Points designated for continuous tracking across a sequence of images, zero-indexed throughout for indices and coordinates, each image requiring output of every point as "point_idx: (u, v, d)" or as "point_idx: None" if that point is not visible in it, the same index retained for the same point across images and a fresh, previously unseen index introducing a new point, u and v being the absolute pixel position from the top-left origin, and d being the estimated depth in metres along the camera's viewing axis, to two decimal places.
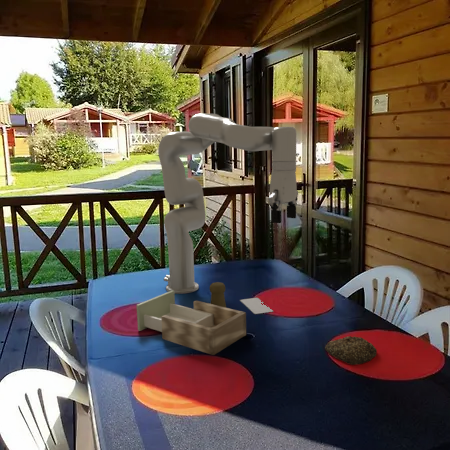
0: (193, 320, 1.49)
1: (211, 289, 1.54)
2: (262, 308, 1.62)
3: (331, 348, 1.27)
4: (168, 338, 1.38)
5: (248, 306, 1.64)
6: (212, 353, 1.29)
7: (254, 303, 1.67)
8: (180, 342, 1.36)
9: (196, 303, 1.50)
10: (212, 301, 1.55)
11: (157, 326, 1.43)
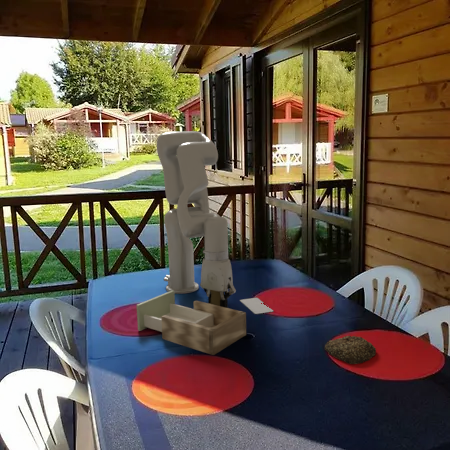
0: (193, 320, 1.49)
1: None
2: (262, 308, 1.62)
3: (330, 347, 1.28)
4: (168, 338, 1.38)
5: (248, 306, 1.64)
6: (212, 353, 1.29)
7: (254, 303, 1.67)
8: (180, 342, 1.36)
9: (196, 303, 1.50)
10: (212, 301, 1.55)
11: (157, 326, 1.43)
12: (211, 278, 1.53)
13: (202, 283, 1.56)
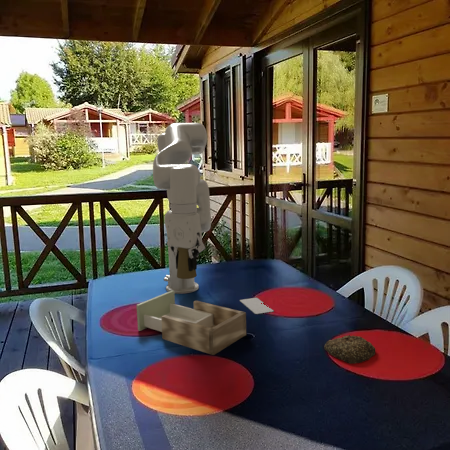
0: (193, 320, 1.49)
1: None
2: (262, 308, 1.62)
3: (330, 347, 1.28)
4: (168, 338, 1.38)
5: (248, 306, 1.64)
6: (212, 353, 1.29)
7: (254, 303, 1.67)
8: (180, 342, 1.36)
9: (196, 303, 1.50)
10: (179, 260, 1.40)
11: (157, 326, 1.43)
12: (178, 233, 1.38)
13: (168, 240, 1.41)
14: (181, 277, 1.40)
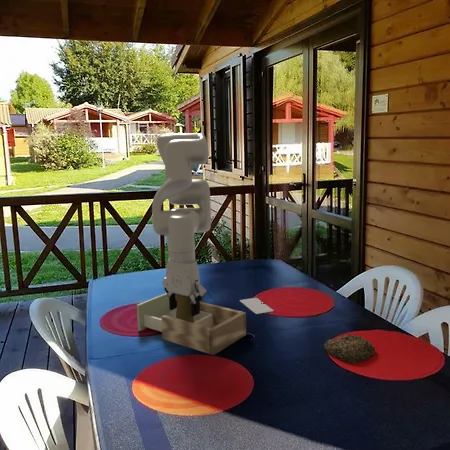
0: None
1: (177, 297, 1.42)
2: (262, 308, 1.62)
3: (329, 346, 1.28)
4: (168, 338, 1.38)
5: (248, 306, 1.64)
6: (212, 353, 1.29)
7: (254, 303, 1.67)
8: (180, 342, 1.36)
9: None
10: (178, 310, 1.43)
11: (157, 326, 1.43)
12: (176, 281, 1.40)
13: (167, 286, 1.43)
14: None
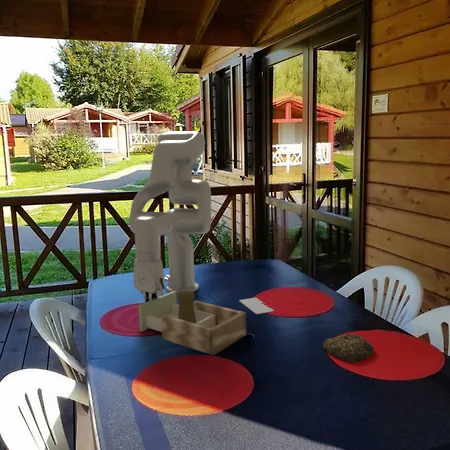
0: None
1: (179, 298, 1.41)
2: (262, 308, 1.62)
3: (328, 345, 1.29)
4: (168, 338, 1.38)
5: (248, 306, 1.64)
6: (212, 353, 1.29)
7: (254, 303, 1.67)
8: (180, 342, 1.36)
9: (196, 303, 1.50)
10: (180, 311, 1.42)
11: (159, 327, 1.43)
12: (142, 278, 1.49)
13: (134, 284, 1.51)
14: None
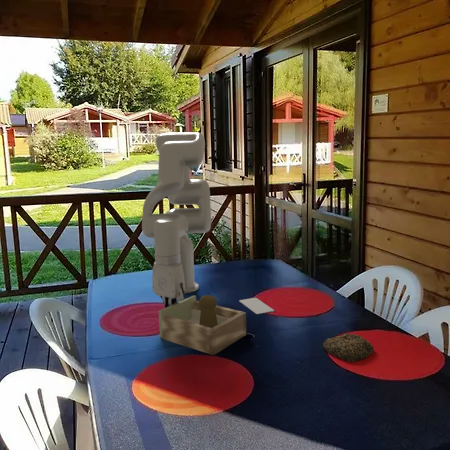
0: None
1: (201, 303, 1.36)
2: (262, 308, 1.63)
3: (328, 345, 1.29)
4: (168, 338, 1.38)
5: (248, 306, 1.64)
6: (212, 353, 1.29)
7: (254, 303, 1.67)
8: (180, 342, 1.36)
9: (196, 303, 1.50)
10: (202, 317, 1.37)
11: None
12: (161, 283, 1.44)
13: (153, 288, 1.47)
14: None
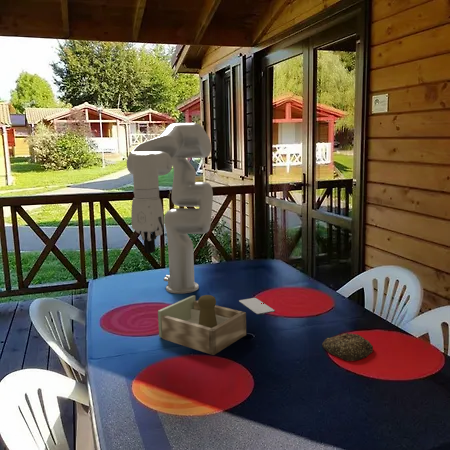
0: None
1: (200, 303, 1.36)
2: (262, 308, 1.63)
3: (328, 345, 1.29)
4: (168, 338, 1.38)
5: (248, 306, 1.64)
6: (212, 353, 1.29)
7: (253, 303, 1.67)
8: (180, 342, 1.36)
9: (196, 303, 1.50)
10: (201, 316, 1.37)
11: None
12: (140, 217, 1.44)
13: (132, 224, 1.47)
14: None
